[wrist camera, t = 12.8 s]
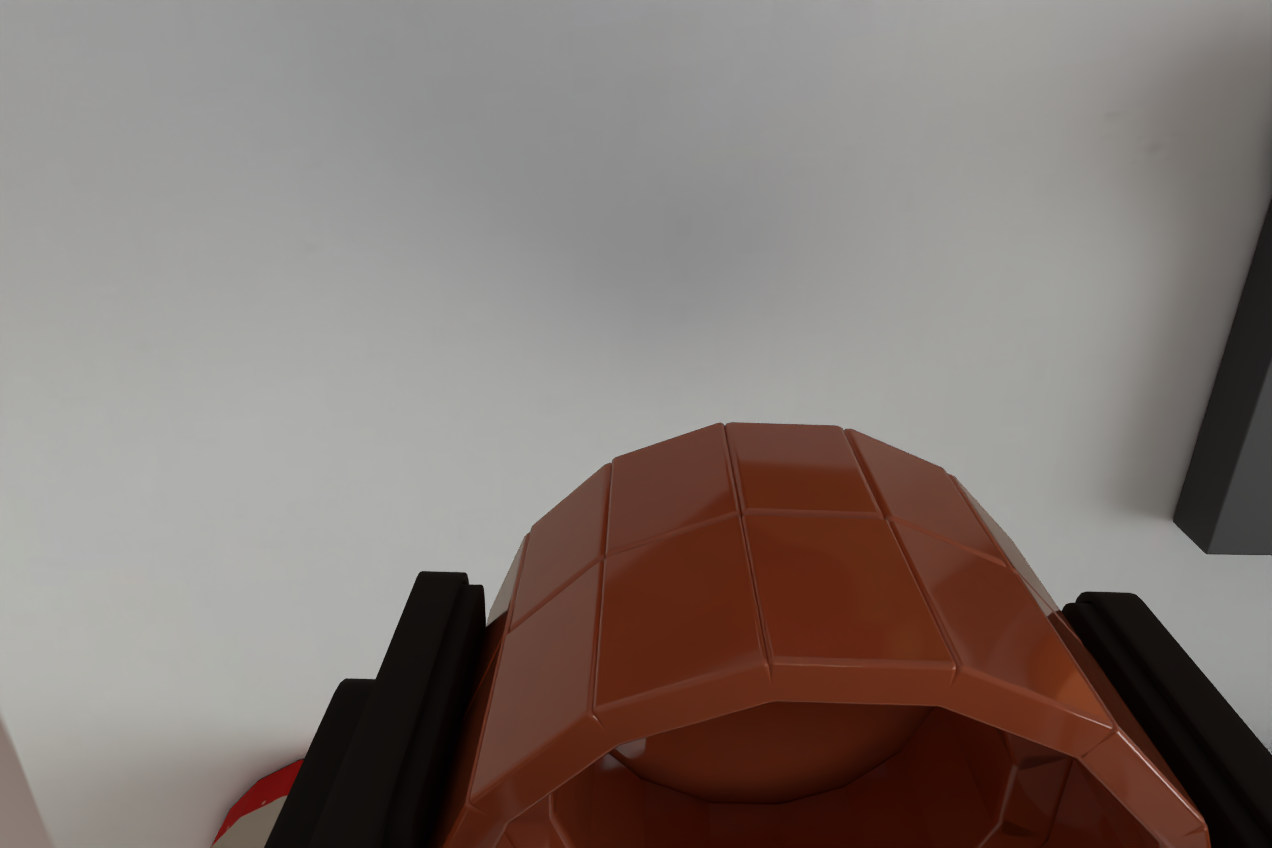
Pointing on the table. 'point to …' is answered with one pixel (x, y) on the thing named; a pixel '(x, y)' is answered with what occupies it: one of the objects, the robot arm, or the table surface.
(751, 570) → the terracotta bowl
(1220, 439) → the scale
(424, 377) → the table surface
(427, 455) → the table surface
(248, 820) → the kitchen timer
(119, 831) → the table surface
